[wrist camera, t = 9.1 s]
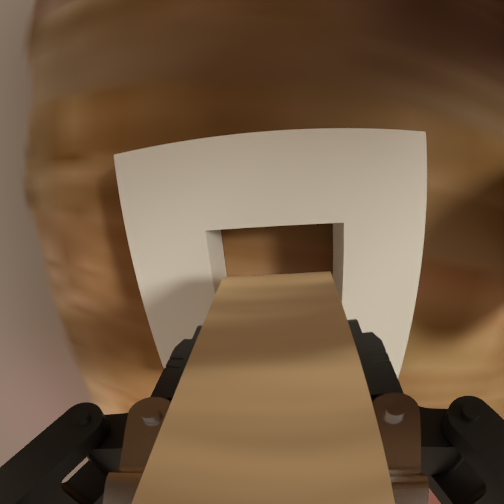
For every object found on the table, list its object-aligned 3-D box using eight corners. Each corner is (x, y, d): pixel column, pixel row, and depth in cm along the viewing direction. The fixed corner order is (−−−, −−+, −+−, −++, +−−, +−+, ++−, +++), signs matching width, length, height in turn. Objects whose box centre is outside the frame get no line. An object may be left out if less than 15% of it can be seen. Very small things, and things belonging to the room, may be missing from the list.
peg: (222, 276, 11) (110, 561, 2) (330, 271, 11) (405, 576, 1) (235, 358, 13) (185, 585, 3) (327, 355, 12) (351, 589, 3)
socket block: (141, 151, 15) (113, 154, 12) (400, 132, 13) (425, 131, 10) (183, 359, 20) (171, 389, 17) (384, 352, 18) (396, 382, 15)
